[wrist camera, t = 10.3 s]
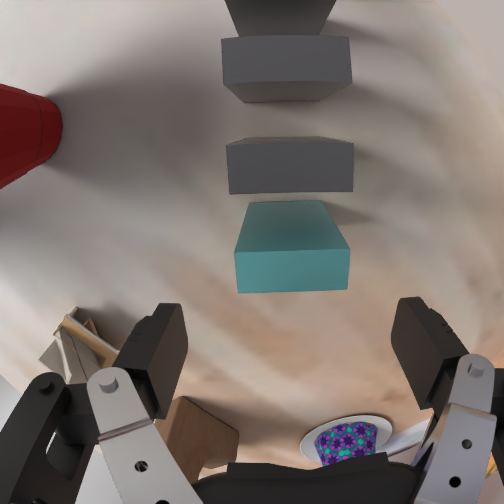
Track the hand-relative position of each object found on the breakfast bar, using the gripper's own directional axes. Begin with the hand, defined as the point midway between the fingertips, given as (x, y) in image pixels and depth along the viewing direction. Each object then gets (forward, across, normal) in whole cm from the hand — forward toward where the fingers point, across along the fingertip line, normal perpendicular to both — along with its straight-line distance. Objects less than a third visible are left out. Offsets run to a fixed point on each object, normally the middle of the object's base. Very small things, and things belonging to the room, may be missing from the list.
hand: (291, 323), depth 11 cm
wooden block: (+13, +9, +23) cm, 28 cm away
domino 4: (+12, 0, -1) cm, 12 cm away
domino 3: (+12, 0, -5) cm, 13 cm away
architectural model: (+13, +18, +10) cm, 25 cm away
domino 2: (+12, 0, -10) cm, 15 cm away
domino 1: (+12, 0, -14) cm, 19 cm away
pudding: (+13, -9, +28) cm, 32 cm away
